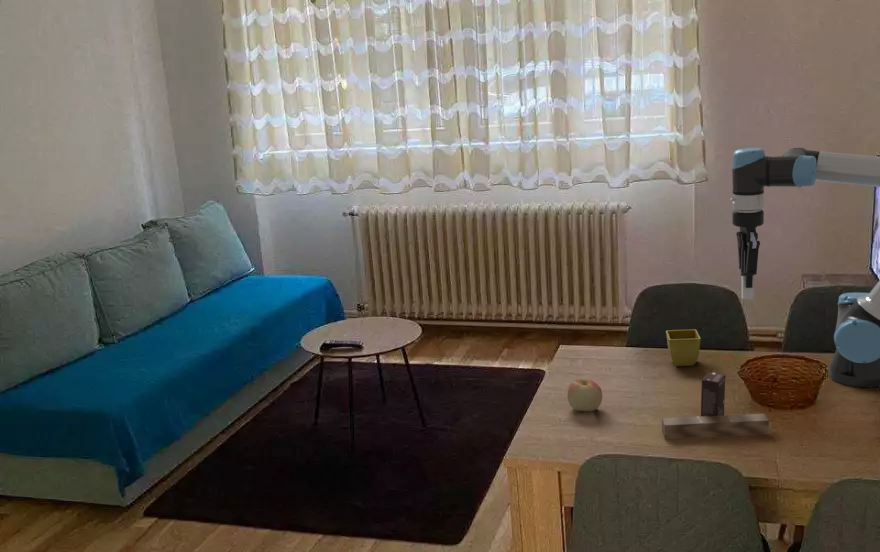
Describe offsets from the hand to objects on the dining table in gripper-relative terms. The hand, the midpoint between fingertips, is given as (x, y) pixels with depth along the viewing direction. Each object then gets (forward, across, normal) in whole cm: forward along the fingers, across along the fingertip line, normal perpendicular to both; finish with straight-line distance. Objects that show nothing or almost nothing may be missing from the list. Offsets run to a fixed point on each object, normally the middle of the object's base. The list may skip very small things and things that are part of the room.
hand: (747, 298), depth 226 cm
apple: (+25, +11, -44) cm, 52 cm away
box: (+25, +22, -14) cm, 36 cm away
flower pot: (+25, -19, -13) cm, 34 cm away
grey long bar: (+24, +28, -15) cm, 40 cm away
